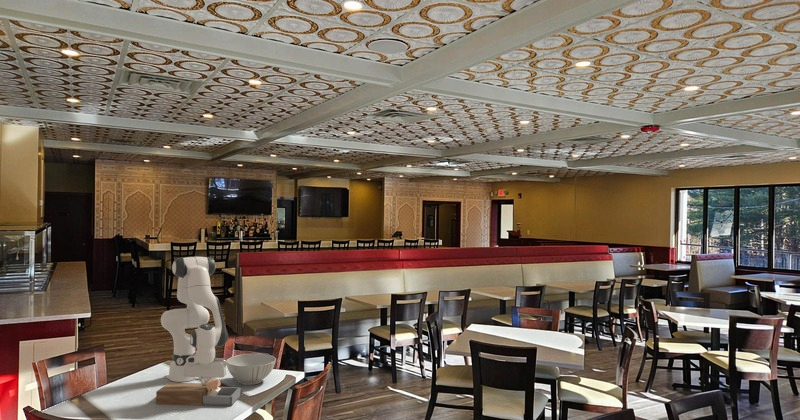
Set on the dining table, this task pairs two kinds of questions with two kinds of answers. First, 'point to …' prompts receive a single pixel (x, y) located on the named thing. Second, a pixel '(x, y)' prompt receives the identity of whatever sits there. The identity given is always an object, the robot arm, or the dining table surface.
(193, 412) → the dining table surface
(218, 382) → the salmon orange block
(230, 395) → the box
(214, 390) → the cream block
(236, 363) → the decorative bowl
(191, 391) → the walnut platform
